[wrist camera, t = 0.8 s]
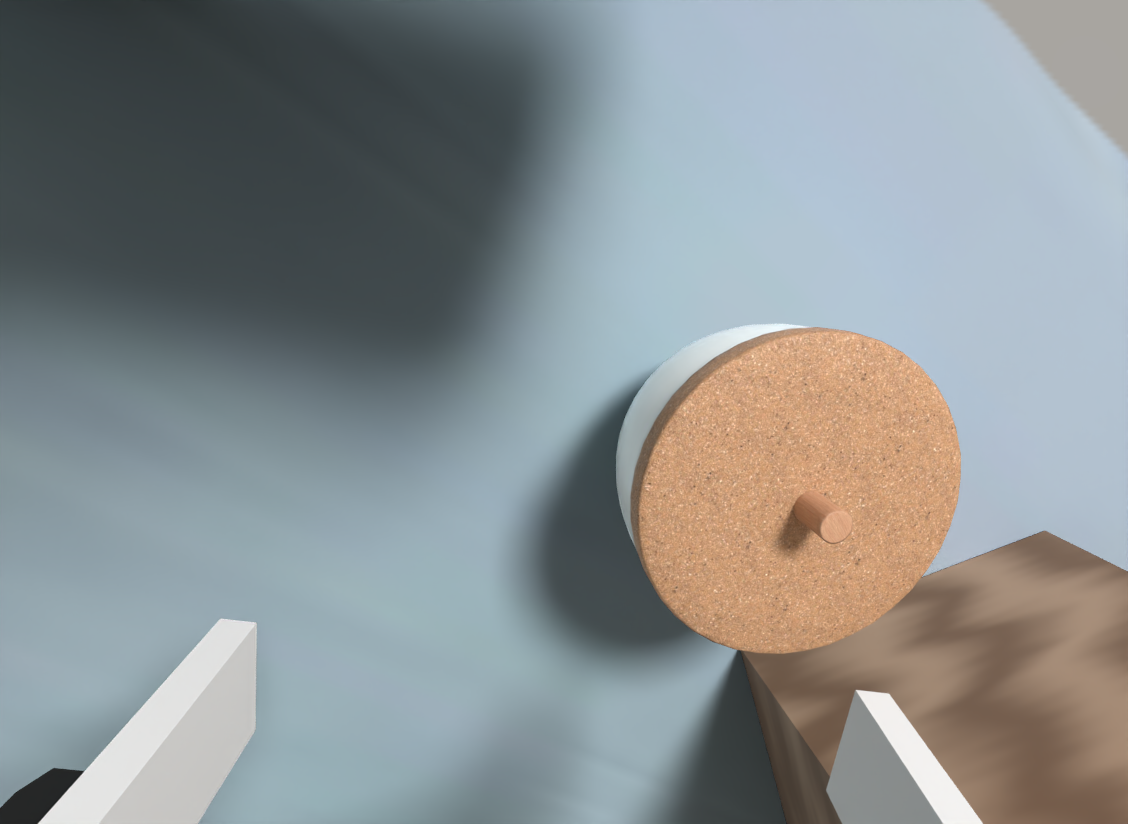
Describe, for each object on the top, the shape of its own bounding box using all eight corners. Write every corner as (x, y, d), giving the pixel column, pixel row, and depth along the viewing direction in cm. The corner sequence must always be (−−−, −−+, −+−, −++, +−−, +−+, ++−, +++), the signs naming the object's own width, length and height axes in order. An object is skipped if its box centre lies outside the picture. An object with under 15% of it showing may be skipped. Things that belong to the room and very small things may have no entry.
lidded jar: (668, 593, 29) (763, 751, 20) (536, 403, 26) (579, 490, 17) (868, 459, 29) (1054, 558, 20) (761, 251, 26) (924, 258, 17)
